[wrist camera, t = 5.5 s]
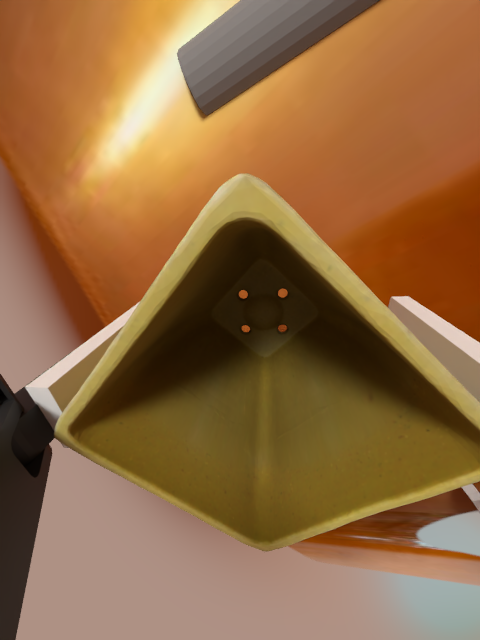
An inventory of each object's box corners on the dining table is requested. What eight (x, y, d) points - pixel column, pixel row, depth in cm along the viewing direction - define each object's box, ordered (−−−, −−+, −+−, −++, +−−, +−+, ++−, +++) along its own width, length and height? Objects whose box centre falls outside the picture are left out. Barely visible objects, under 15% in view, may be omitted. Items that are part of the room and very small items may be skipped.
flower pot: (261, 190, 11) (239, 148, 3) (374, 305, 13) (547, 469, 5) (167, 310, 15) (43, 438, 7) (266, 385, 16) (263, 556, 8)
